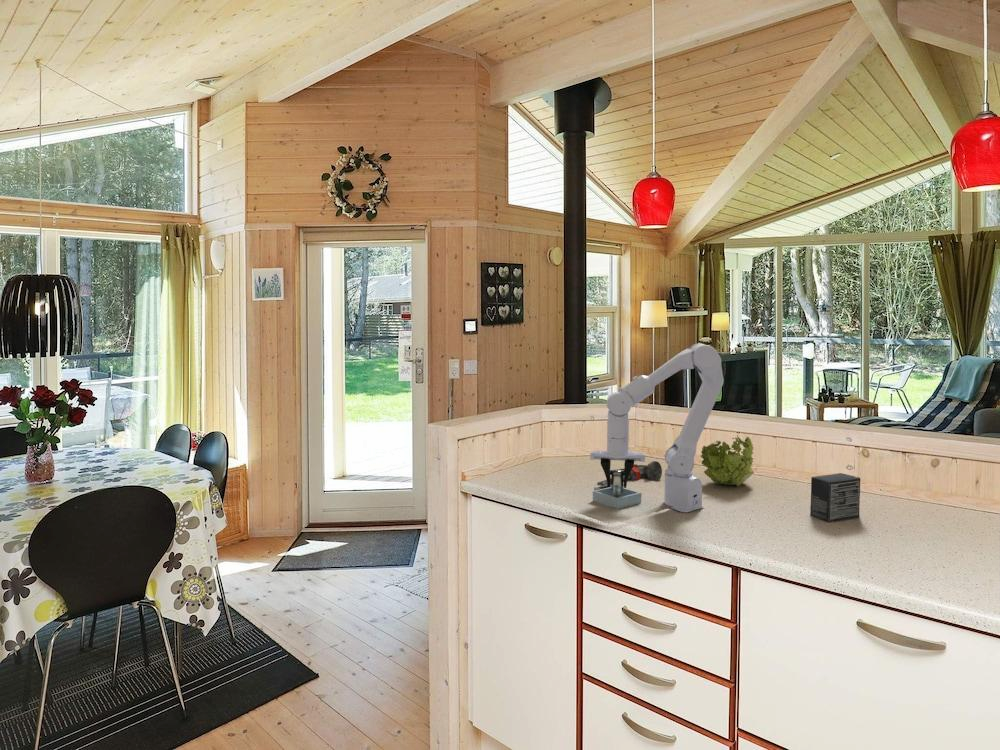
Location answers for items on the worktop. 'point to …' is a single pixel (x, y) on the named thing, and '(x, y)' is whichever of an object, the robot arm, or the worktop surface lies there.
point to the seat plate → (601, 487)
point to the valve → (642, 472)
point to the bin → (624, 499)
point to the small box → (835, 497)
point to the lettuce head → (728, 462)
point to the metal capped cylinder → (617, 481)
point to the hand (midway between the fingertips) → (617, 486)
